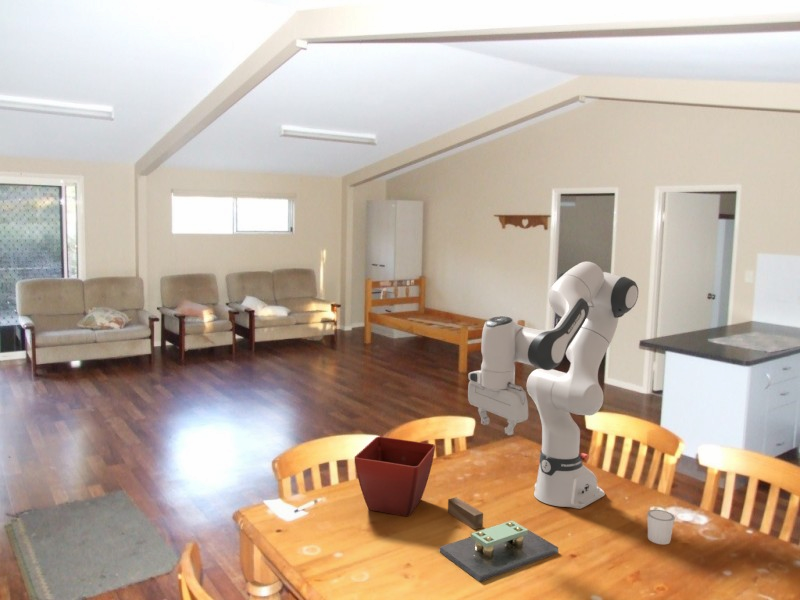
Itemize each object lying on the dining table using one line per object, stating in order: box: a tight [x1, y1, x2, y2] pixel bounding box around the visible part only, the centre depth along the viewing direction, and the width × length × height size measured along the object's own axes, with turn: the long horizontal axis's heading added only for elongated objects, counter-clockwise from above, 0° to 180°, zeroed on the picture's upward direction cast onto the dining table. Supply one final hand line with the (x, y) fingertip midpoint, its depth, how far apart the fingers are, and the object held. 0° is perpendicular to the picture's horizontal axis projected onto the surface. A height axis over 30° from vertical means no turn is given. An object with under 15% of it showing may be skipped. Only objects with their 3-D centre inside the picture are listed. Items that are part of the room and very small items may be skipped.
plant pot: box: [354, 436, 436, 517], centre depth 196 cm, size 19×19×17 cm
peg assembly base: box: [439, 521, 559, 583], centre depth 170 cm, size 26×16×6 cm, turn 123°
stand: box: [447, 496, 484, 530], centre depth 189 cm, size 3×12×4 cm, turn 33°
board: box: [470, 520, 529, 548], centre depth 170 cm, size 14×6×1 cm, turn 123°
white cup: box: [646, 509, 675, 545], centre depth 179 cm, size 7×7×7 cm
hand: (496, 429), depth 177 cm, fingers open, 8 cm apart
